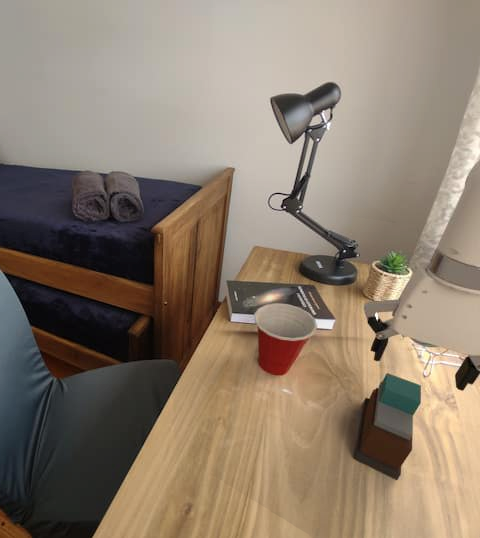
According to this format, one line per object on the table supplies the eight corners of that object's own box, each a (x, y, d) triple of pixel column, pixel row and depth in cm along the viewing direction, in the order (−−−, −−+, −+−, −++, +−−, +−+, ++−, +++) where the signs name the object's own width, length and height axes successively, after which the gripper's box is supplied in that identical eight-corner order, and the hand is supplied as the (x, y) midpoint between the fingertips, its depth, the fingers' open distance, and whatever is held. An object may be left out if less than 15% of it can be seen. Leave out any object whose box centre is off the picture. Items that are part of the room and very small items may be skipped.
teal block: (378, 386, 59) (387, 368, 57) (411, 398, 57) (421, 381, 55) (373, 424, 53) (382, 406, 51) (409, 440, 51) (421, 422, 49)
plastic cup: (239, 345, 78) (249, 300, 72) (291, 348, 77) (305, 302, 71) (250, 384, 68) (262, 336, 62) (309, 387, 67) (327, 339, 61)
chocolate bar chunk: (363, 402, 64) (375, 377, 61) (400, 418, 61) (416, 392, 58) (353, 459, 55) (367, 432, 52) (397, 480, 52) (414, 453, 49)
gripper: (564, 274, 42) (492, 378, 50) (387, 240, 51) (351, 333, 59) (583, 307, 37) (499, 415, 45) (383, 262, 46) (344, 360, 54)
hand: (415, 368), depth 52 cm, fingers open, 9 cm apart
